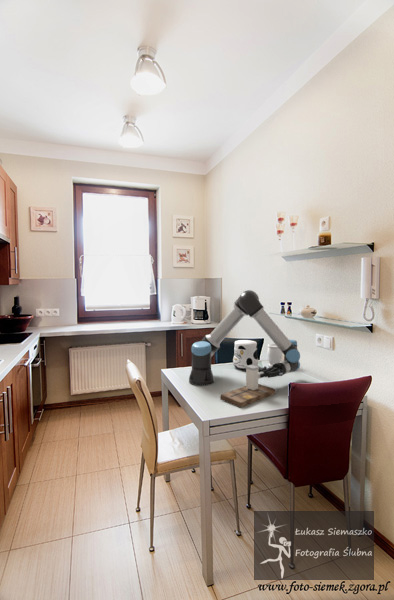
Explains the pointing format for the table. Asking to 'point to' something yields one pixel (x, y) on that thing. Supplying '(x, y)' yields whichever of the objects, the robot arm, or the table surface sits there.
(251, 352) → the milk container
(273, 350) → the jar
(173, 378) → the table surface
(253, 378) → the white lidded canister
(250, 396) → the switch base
